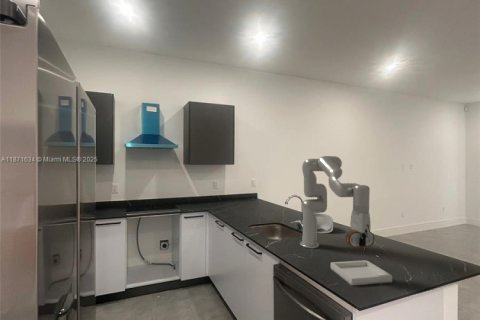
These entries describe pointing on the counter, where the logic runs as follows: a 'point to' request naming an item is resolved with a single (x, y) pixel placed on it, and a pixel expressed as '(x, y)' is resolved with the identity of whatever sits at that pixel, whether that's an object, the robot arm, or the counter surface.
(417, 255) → the counter surface
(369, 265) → the white tray
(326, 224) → the bowl
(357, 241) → the tin
